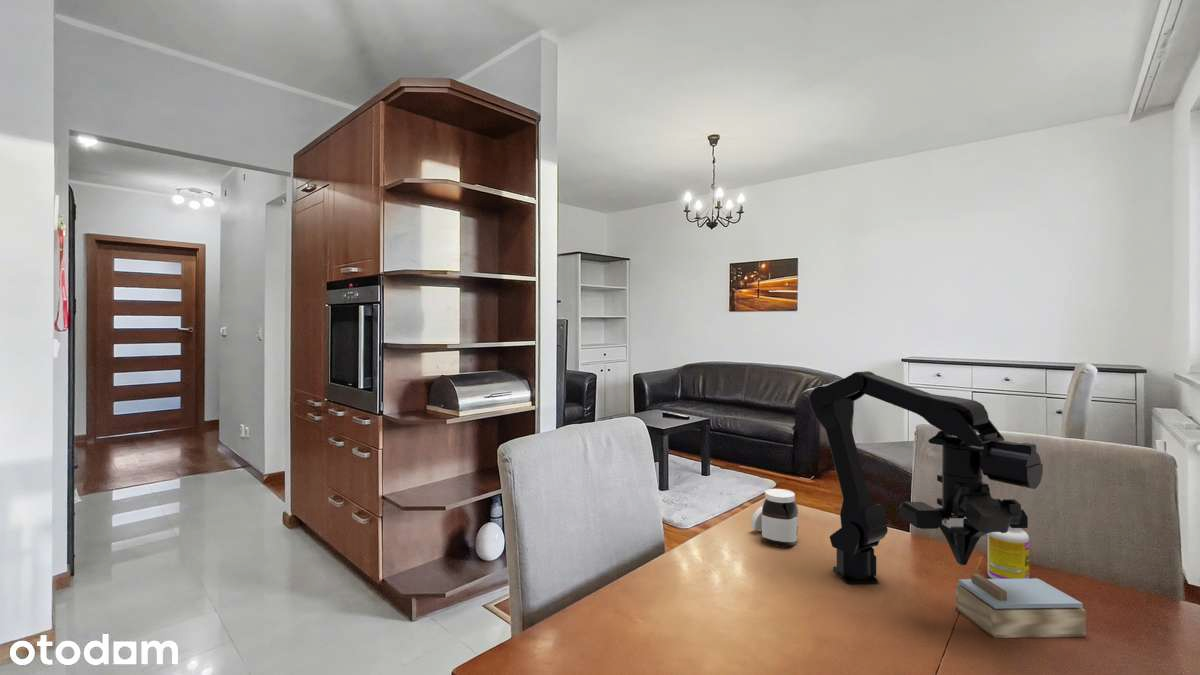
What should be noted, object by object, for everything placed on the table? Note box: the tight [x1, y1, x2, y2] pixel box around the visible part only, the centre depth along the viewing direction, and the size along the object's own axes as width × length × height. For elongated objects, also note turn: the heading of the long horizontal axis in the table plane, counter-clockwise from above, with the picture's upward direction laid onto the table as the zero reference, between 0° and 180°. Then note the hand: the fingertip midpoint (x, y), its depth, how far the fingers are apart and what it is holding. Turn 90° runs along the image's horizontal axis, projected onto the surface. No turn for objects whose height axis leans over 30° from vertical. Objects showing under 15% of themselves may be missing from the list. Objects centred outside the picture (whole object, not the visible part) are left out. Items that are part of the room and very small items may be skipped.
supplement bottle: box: [986, 527, 1030, 579], centre depth 104 cm, size 7×7×13 cm
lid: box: [957, 573, 1084, 609], centre depth 89 cm, size 14×9×2 cm, turn 90°
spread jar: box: [750, 488, 799, 547], centre depth 126 cm, size 12×11×12 cm
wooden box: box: [955, 583, 1087, 639], centre depth 89 cm, size 15×9×4 cm, turn 90°
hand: (961, 564), depth 89 cm, fingers closed
